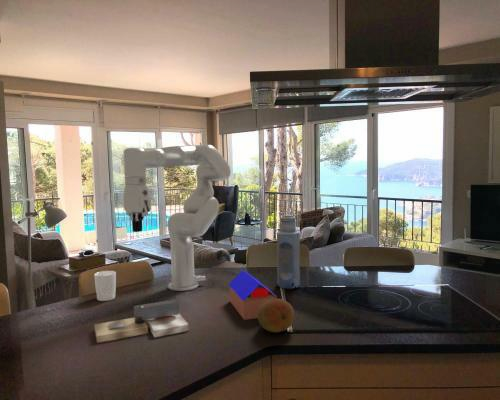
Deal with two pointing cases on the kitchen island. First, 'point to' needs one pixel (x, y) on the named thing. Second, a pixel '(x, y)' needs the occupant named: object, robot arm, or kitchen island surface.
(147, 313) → the bar
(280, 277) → the bottle
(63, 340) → the kitchen island surface
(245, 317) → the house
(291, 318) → the fruit
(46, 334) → the kitchen island surface
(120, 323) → the door and jamb
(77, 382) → the kitchen island surface
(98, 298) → the white cup
